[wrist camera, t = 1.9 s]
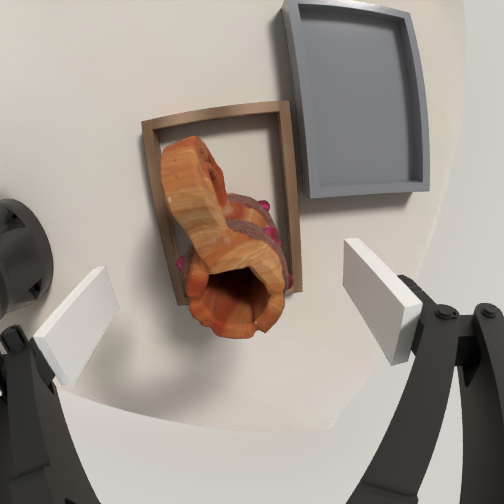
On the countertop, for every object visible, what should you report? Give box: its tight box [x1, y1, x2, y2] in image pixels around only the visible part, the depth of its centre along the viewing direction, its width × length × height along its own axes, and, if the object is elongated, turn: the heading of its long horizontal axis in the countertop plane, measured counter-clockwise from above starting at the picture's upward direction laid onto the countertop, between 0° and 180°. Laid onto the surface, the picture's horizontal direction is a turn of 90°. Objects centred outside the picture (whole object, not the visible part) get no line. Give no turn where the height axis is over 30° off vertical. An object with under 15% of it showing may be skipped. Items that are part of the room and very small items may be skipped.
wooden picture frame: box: [141, 100, 303, 306], centre depth 28 cm, size 14×20×2 cm
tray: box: [282, 0, 430, 199], centre depth 24 cm, size 14×21×3 cm, turn 6°
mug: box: [160, 135, 294, 339], centre depth 22 cm, size 15×8×15 cm, turn 19°
